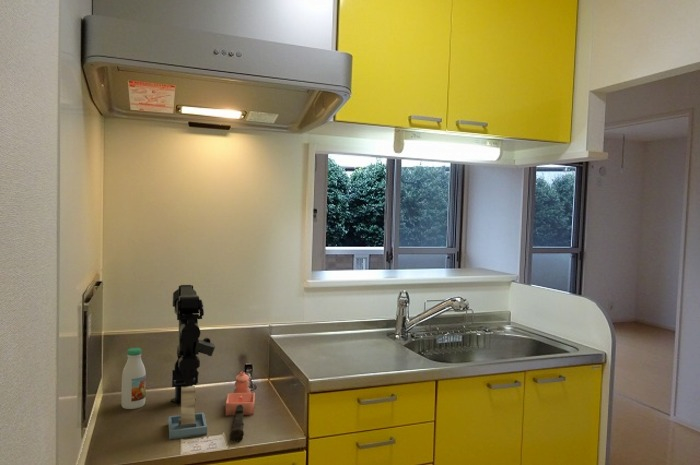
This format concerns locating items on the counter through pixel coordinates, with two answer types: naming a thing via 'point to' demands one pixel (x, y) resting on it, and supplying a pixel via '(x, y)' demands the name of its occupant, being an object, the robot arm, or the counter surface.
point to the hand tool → (237, 425)
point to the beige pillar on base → (187, 407)
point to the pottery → (241, 396)
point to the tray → (187, 432)
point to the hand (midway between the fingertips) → (187, 380)
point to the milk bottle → (133, 380)
